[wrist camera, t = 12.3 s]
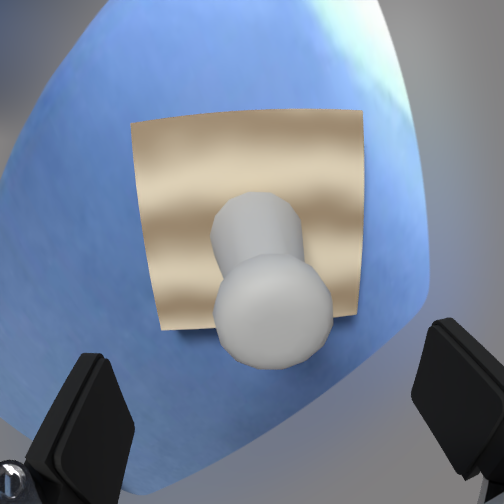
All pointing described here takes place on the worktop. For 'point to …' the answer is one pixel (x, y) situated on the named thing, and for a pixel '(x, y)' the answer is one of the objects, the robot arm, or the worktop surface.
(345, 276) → the plinth
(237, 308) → the salt shaker
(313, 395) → the worktop surface
